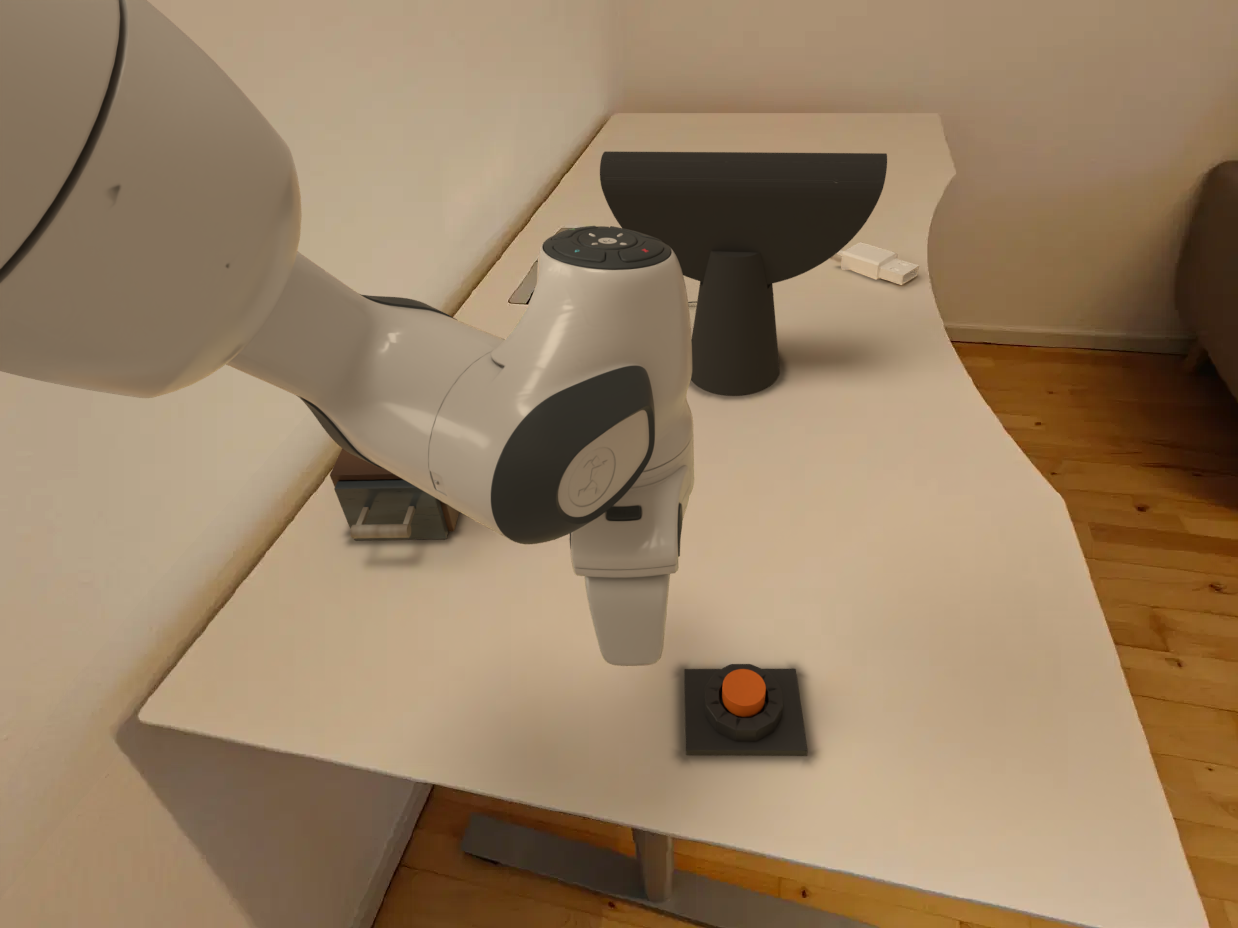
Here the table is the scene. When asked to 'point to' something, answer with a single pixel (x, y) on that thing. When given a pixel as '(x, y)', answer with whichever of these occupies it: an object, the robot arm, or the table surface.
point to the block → (734, 735)
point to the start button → (743, 693)
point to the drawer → (390, 510)
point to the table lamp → (742, 238)
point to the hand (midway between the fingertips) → (639, 596)
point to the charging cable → (877, 263)
